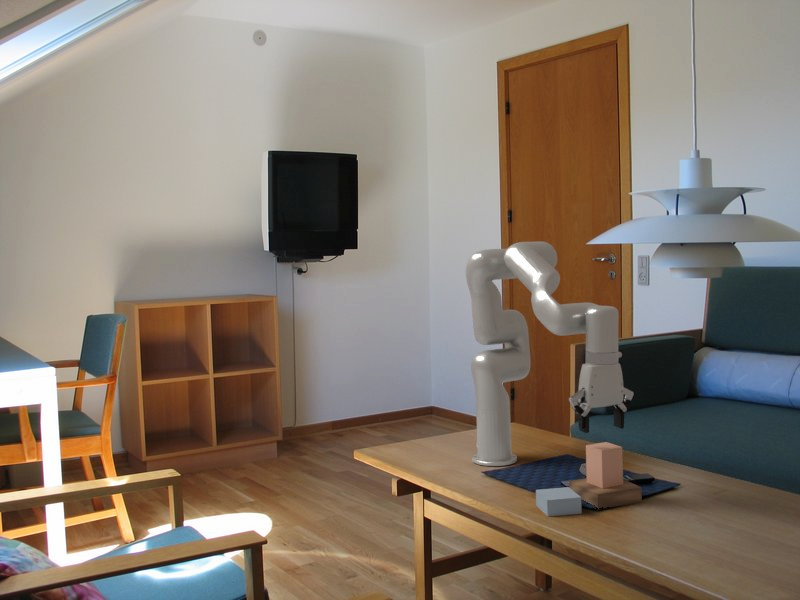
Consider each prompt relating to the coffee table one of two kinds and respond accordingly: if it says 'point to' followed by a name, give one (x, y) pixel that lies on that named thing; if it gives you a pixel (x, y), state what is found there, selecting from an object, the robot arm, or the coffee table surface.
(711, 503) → the coffee table surface
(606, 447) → the terracotta block
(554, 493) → the slate block
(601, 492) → the walnut block
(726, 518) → the coffee table surface
